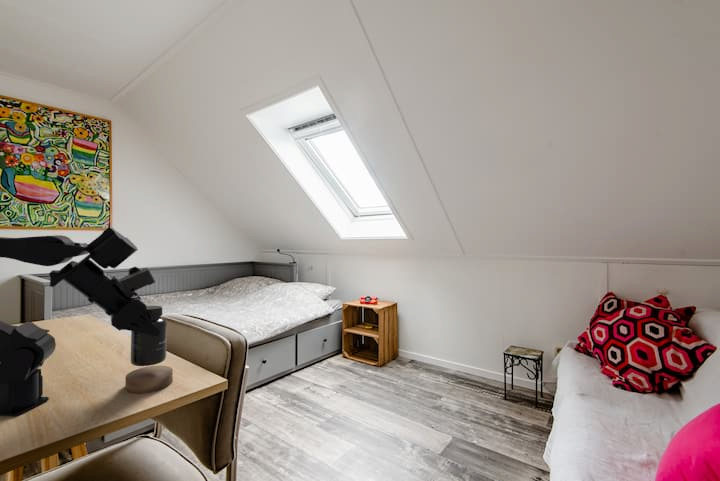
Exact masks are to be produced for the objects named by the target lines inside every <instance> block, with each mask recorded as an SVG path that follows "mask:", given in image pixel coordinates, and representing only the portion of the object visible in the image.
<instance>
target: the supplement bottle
mask: <svg viewBox="0 0 720 481" xmlns="http://www.w3.org/2000/svg"><path fill="white" fill-rule="evenodd" d="M146 306H147V309H146V315H147V317H148V318H149V319H150V320H151V321H152V322H153V324H154V325H155V326H156V327H157V328H158V330H159V331H160V334H159V335H158V336H153V335H148V334H144V333H139V332H134V331H130V363H131V364H132V365H133V366H136V367H149V366H156V365H158V364H160V363H163V362H164V361H165V360H166V358H167V338H168V335H167V332H168V329H167V328H168V321H167V320H166V319H165V318H164V317H162V316H163V306H161V305H146Z"/></svg>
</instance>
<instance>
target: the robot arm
mask: <svg viewBox="0 0 720 481" xmlns="http://www.w3.org/2000/svg"><path fill="white" fill-rule="evenodd" d="M138 250H139V249H138V248H137V246H136V245H135V244H134V243H133V242H132V241H131V240H130V239H129V238H128V237H125V236H124V235H123V234H121V233H120V232H119V231H117V230H115V228H114V227H107V228H106V229H104V230H103V232H102V233H101V234H100V235H99V236H97V237H96V238H95V239H94V240H92V241H91V242H90V243H87V242H85V243H84V242H81V243H80V242H74V241H73V240H72V239H71V238H70V237H68V236H65V235H61V234H60V235H57V234H56V235H39V236H28V237H27V236H26V237H25V236H23V237H6V236H0V258H5V259H11V260H15V261H18V262H23V263H28V264H32V265H37V266H42V267H54V266H58V265H62V264H65V263H66V265H64V266H63V267H62V268H60V269H57V270H54V269H53V270H51V271H50V272H49V278H50V282H49V287H51V288H54V287H56V286H57V285H58V284H60V282H62V281H64V282H65V283H66V284H68V285H69V286H70V287H72V288H73V289H74V290H76V291H77V292H79V293H80V294H81V295H83V296H84V297H85V298H87V301H88V302H89V303H91V304H94V305H96V306H98V307H99V308H100V309H102V310H103V311H104V312H105V314H106V315H107V316H109V317H110V323H111V325H110V326H112V327H114V328H115V329H116V330H118V331H121V330H122V331H124V330H126V331H130V332H131V331H134V332H139V333H144V334H148V335H153V336H158V335H159V334H160V331H159V330H158V328H157V327H156V326H155V325H154V324H153V322H152V321H151V320H150V319H149V318H148V317H147V315H146V309H147V306H148V305H147V304H146V303H145V302H143V301H142V300H141V299H142V298H141V296H140V295H139V294H138V293H137V290H140V289H141V288H142V289H143V288H144V287H147V286H151V285H153V284H154V283H156V280H155V278H154V276H153V275H152V273H151V271H150V269H149V268H148V267H142V269H140V268H139V267H137V266H135V265H134V266H133V267H131V268H128V273H127V275H125V276H123V277H122V278H117V277H116V276H114V275H113V276H112V275H110V274H109V273H108V272H106V270H104V269H108V268H111V269H116V268H117V267H119V266H120V265H121V264H123V262H125V261H126V260H127V259H129V258H130V257H131V256H132V255H133V254H134V253H136V252H137V251H138ZM84 255H86V256H85V257H84V258H82V259H81V260H80V261H75V260H72V259H73V258H76V257H80V256H84ZM69 261H70V262H69ZM67 262H68V263H67ZM102 268H103V269H102ZM134 296H135V297H134ZM49 332H51V331H50V329H47V328H46V329H45V328H41V327H39V326H38V325H36V324H35V323H34V322H31V321H26V322H24V323H22V324H20V325H13V324H12V325H11V324H8V323H5V322H3V321H1V320H0V416H20V415H21V414H24V413H26V412H28V411H30V410H32V409H33V408H35V407H38V406H39V405H41V404H43V403H46V402H47V401H49V400H50V397H49V396H43V395H44V393H43V391H44V390H43V388H44V387H43V382H44V381H43V380H44V379H43V377H44V376H43V375H42V368H41V367H42V366H43V365H44V363H45V360H47V359H48V358H49V357H50V356H52V355H53V353H54V352H55V351H56V346H57V344H56V338H55V337H54V336H53V335H51V334H50V333H49Z"/></svg>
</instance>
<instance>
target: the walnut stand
mask: <svg viewBox="0 0 720 481" xmlns="http://www.w3.org/2000/svg"><path fill="white" fill-rule="evenodd" d="M173 374H174V372H173V368H172V367H171V366H168V365H150V366H143V367H140V368H136V369H134V370H132V371H131V372H128V373H127V374H126V375H125V384H124V385H125V391H126V392H127V393H130V394H148V393H153V392H157V391H161V390H163V389H165V388H168V387H169V386H170V385H171V384H173V379H174V375H173Z"/></svg>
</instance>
